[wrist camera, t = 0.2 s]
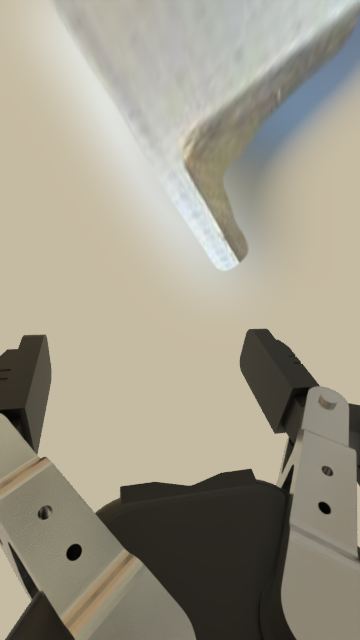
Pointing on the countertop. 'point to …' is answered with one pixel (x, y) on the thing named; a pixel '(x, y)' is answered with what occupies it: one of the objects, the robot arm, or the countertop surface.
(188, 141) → the countertop surface
